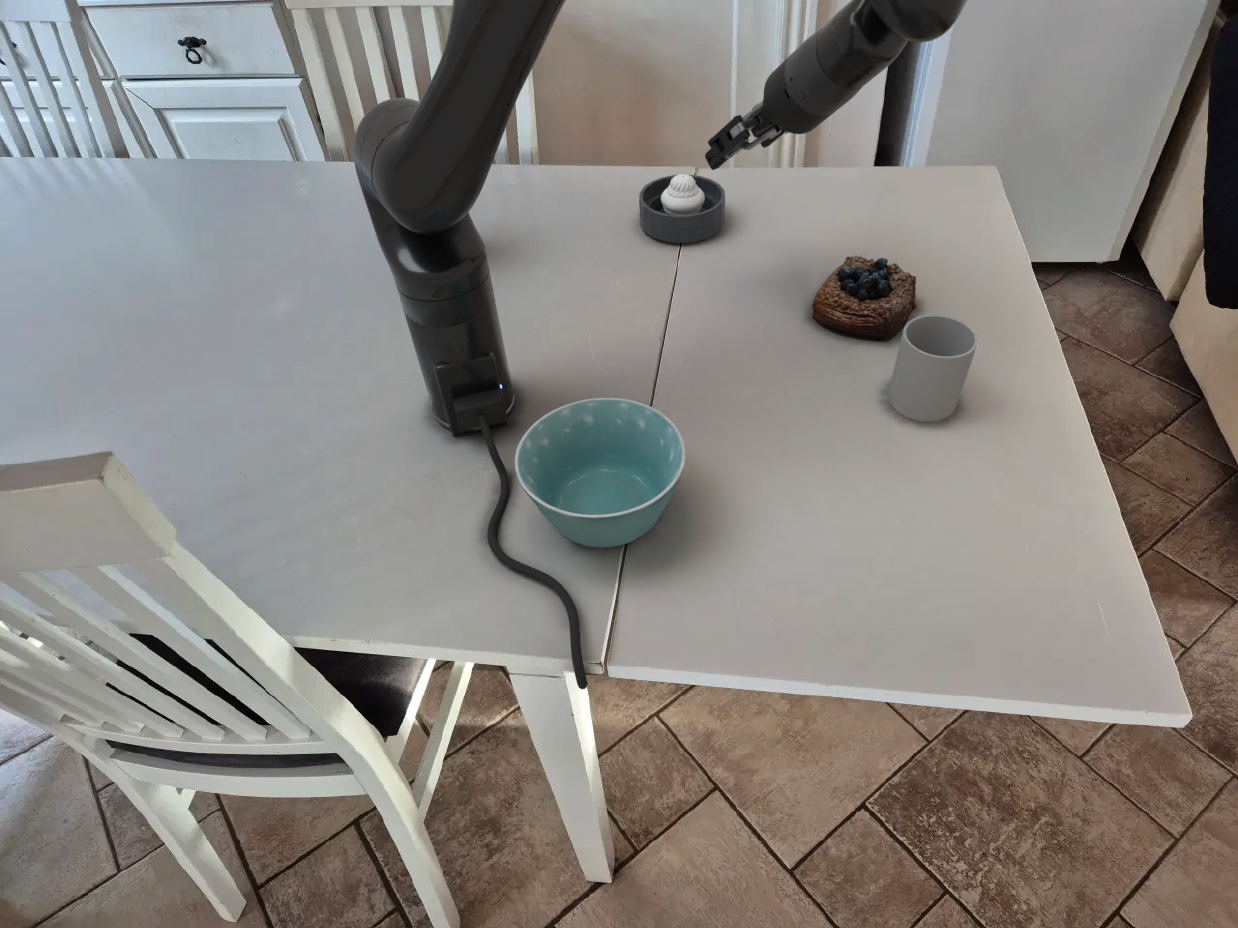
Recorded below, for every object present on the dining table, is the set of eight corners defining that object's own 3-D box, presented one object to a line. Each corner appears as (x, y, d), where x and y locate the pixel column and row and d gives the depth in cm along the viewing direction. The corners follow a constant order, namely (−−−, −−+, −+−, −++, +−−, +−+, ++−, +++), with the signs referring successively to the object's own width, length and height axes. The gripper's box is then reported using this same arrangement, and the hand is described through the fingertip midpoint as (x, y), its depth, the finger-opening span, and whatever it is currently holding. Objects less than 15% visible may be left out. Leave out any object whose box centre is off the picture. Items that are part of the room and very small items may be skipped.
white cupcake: (658, 231, 115) (657, 185, 110) (663, 209, 119) (663, 164, 114) (702, 233, 114) (703, 186, 109) (706, 210, 119) (707, 165, 113)
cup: (879, 412, 88) (895, 347, 82) (903, 359, 94) (919, 294, 87) (947, 431, 85) (969, 365, 79) (967, 375, 91) (989, 310, 85)
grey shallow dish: (736, 236, 114) (737, 207, 111) (655, 253, 112) (654, 223, 109) (706, 197, 122) (707, 168, 119) (630, 212, 120) (629, 183, 117)
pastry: (923, 299, 102) (934, 258, 97) (888, 351, 95) (898, 310, 91) (840, 275, 106) (847, 235, 102) (801, 323, 100) (806, 283, 95)
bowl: (508, 480, 84) (495, 422, 78) (649, 437, 87) (647, 378, 81) (553, 597, 74) (542, 540, 68) (711, 543, 77) (714, 484, 71)
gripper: (846, 29, 88) (763, 106, 102) (750, 66, 82) (677, 141, 97) (877, 93, 88) (790, 160, 103) (784, 134, 83) (706, 198, 98)
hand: (736, 151), depth 100 cm, fingers open, 8 cm apart
